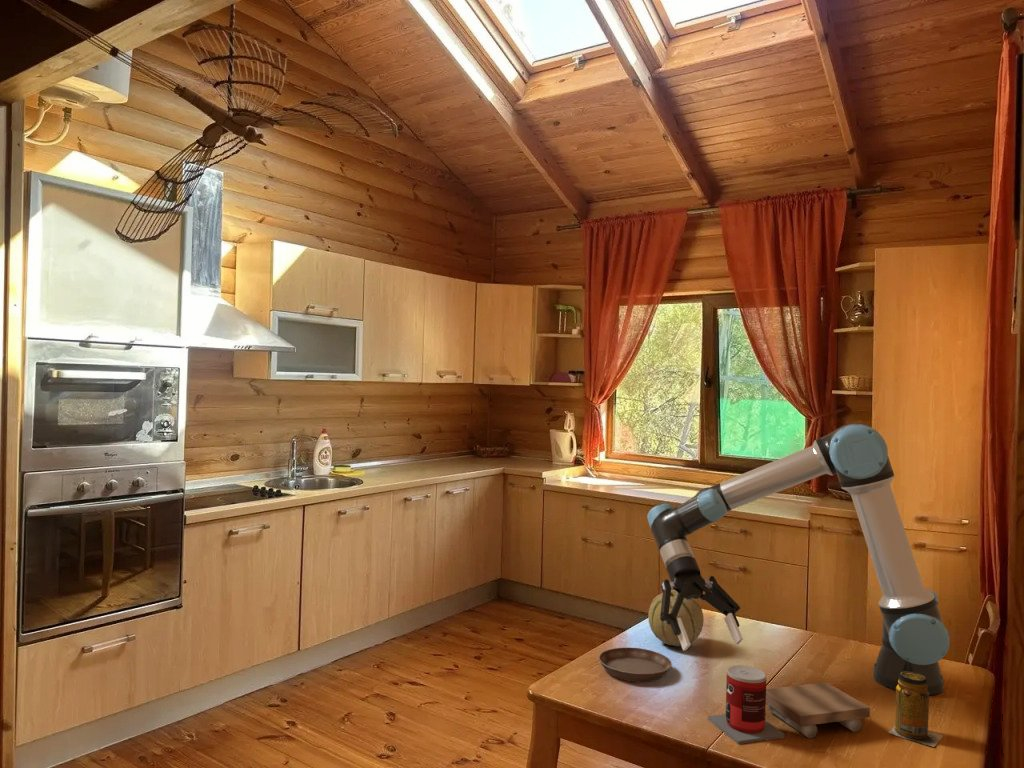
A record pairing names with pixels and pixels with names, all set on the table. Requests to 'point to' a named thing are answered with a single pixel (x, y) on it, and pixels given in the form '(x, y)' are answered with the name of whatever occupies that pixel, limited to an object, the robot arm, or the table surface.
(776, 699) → the walnut slab
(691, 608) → the cantaloupe
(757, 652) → the table surface
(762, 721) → the canned food
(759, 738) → the rubber mat
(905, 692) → the condiment
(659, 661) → the plant saucer
